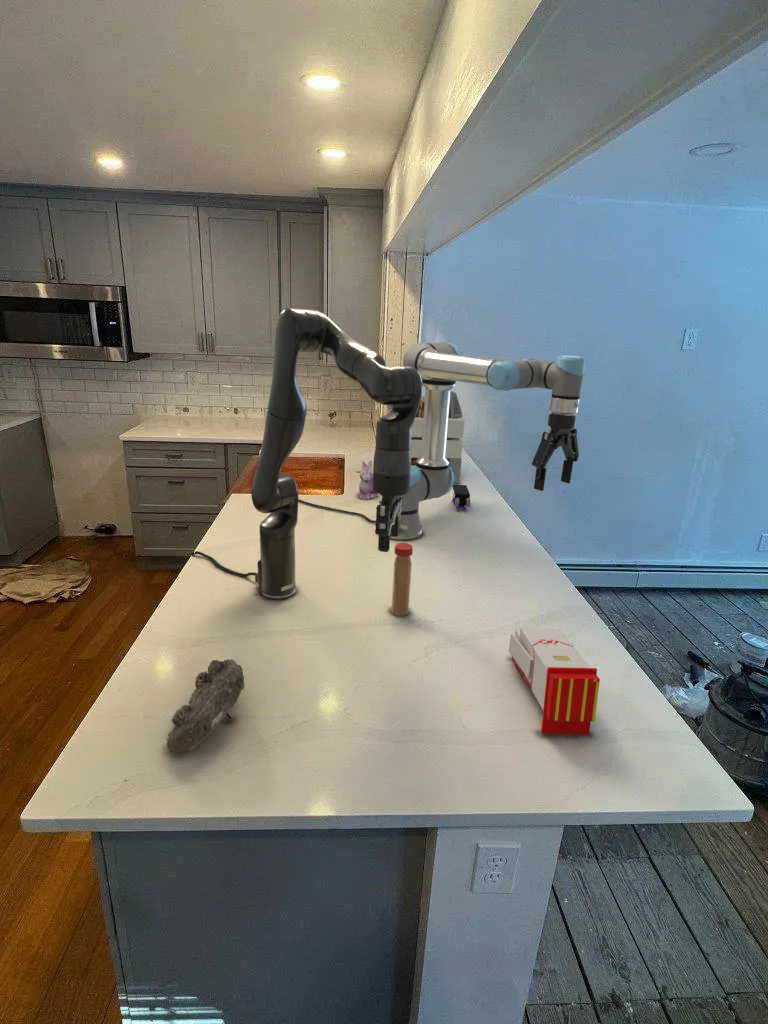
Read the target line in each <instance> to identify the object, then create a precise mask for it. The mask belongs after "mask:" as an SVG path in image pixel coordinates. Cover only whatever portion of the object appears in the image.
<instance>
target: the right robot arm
mask: <svg viewBox="0 0 768 1024" xmlns="http://www.w3.org/2000/svg"><path fill="white" fill-rule="evenodd" d="M585 365H586V360H585V358H584V357H582V356H578V355H566V354H565V355H564V354H563V355H558V356H557V357H556V360H555V361H549V360H541V359H536V358H524V359H521V360H506V359H505V360H504V359H503V360H502V359H496V358H487V357H479V356H471V355H464V354H463V352H462V350H461V349H460V347H459V346H457V345H456V344H455V343H451V342H445V341H443V342H442V341H441V342H440V341H439V342H438V341H437V342H417V343H414V344H412V345H411V346H409V347H408V348H407V350H406V351H405V353H404V355H403V358H402V366H410V367H413V368H415V369H416V370H417V371H418V372H419V374H420V376H421V378H422V383H423V388H424V389H425V392H424V397H425V404H424V419H423V434H422V449H421V457H420V458H418V459H417V461H416V466H413V465H411V474H410V490H409V492H408V493H407V494H405V495H403V507H402V510H403V512H402V514H400V516H401V518H400V520H399V532H398V536H397V537H393V536H390V540H395V541H410V540H415V539H418V538H420V537H421V536H422V535H423V525H422V524H421V518H420V515H419V507H420V506H419V505H420V502H423V501H427V500H431V499H437V498H440V497H443V496H446V495H448V493H450V492H451V490H452V489H453V484H455V483H454V473H452V469H451V467H450V466H449V462H448V461H447V459H446V458H445V453H446V441H447V428H448V416H449V404H450V392H451V391H452V389H453V388H454V387H455V386H456V384H457V382H461V383H465V384H473V385H479V386H487V387H491V388H492V389H494V390H496V391H503V392H504V391H511V390H520V389H532V388H533V389H534V388H539V389H546V390H551V398H550V404H549V413H548V418H547V419H548V420H547V426H548V427H549V428H550V431H549V432H548V431H543V432H542V435H541V440H540V442H539V445H538V447H537V449H536V452H535V454H534V457H533V460H532V461H531V466H533V467H535V475H534V477H535V478H534V485H533V489H534V490H537V491H539V492H543V491H544V489H545V484H546V483H545V482H546V476H547V468H546V466H547V465H548V463H549V461H550V459H551V457H552V456H553V454H554V453H555V451H556V450H557V449H558V448H560V447H561V449H562V452H563V455H564V458H565V459H563V463H562V468H561V469H562V470H561V475H560V482H562V483H566V484H571V478H572V472H573V466H574V463H576V462H578V461H579V457H580V453H579V444H578V428H576V423H577V419H578V416H577V414H578V412H579V411H578V410H579V406H580V397H581V391H582V385H583V380H584V376H585ZM298 502H299V503H302V504H306V505H308V506H312V507H316V508H319V509H320V508H321V509H325V510H330V511H335V512H340V513H346V514H351V515H357V516H360V517H362V518H364V519H365V520H366V521H368V522H370V523H375V524H376V520H372V519H370V518H369V517H367V515H364V514H363V513H359V512H355V511H349V510H345V509H344V510H343V509H340V508H339V509H338V508H334V507H328V506H325V505H320V504H316V503H312V502H308V501H304V500H301V499H300V498H298ZM382 529H385V524H382Z"/></svg>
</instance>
